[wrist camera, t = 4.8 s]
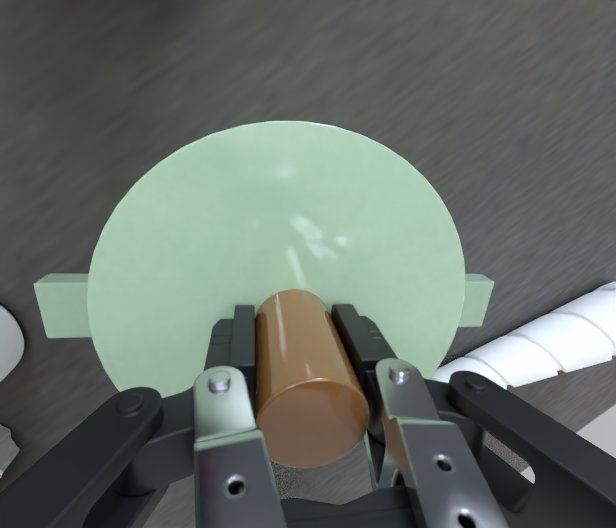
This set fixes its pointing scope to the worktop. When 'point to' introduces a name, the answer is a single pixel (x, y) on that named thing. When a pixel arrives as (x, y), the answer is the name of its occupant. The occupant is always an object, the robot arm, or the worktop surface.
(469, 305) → the pan
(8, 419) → the worktop surface
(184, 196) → the pan lid
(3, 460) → the egg carton
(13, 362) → the can
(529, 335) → the unicorn horn
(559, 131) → the worktop surface
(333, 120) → the worktop surface
